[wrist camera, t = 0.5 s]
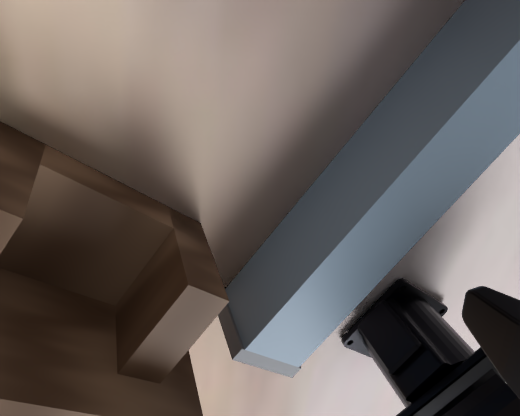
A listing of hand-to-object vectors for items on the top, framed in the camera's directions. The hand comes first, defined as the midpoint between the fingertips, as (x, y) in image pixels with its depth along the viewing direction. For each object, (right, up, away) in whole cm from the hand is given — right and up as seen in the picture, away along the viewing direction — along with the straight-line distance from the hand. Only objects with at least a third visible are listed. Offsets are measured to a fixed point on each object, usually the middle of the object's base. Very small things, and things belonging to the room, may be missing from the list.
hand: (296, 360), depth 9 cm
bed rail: (+5, +5, +14) cm, 15 cm away
